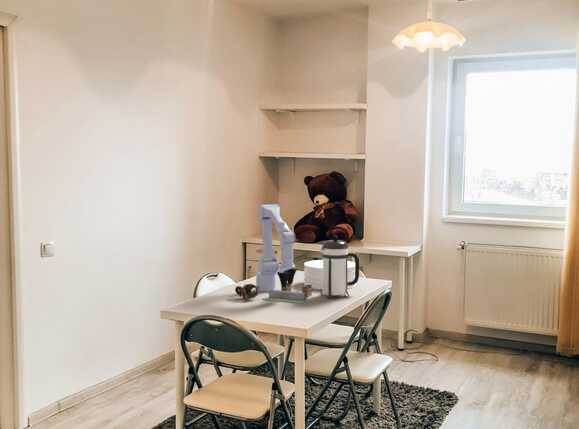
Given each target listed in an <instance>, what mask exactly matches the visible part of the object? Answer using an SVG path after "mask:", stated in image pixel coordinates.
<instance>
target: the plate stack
mask: <svg viewBox="0 0 579 429" xmlns="http://www.w3.org/2000/svg"><path fill="white" fill-rule="evenodd" d="M303 264H304V265H303V266H304V268H303V271H304V273H303V276H304V278H303V279H304V280H303V281H304V282H303V285H304V286H305V287H306V285H312V289H313V288H314V290H320V289H322V290H323V259H317V260H316V259H315V260H309V261H305V262H304V263H303ZM354 279H355V262H354V261H349V260H347V282H352V281H353V280H354ZM357 283H358V282H357ZM357 283H356V284H354V285H350V286H348V287H347V290H350V289H353V288H356V287H357V285H358V284H357ZM322 290H321V291H322Z"/></svg>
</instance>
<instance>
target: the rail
mask: <svg viewBox="0 0 579 429" xmlns="http://www.w3.org/2000/svg"><path fill="white" fill-rule="evenodd" d="M268 295H269V298H277V299H288V300H298V301H305V300H306V298H307V297H306V293H302V291H300V292H299V291H291V292H290V291H281V290H279V289H278V290H270V291H269V292H268ZM305 302H306V301H305Z"/></svg>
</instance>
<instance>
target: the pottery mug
mask: <svg viewBox="0 0 579 429" xmlns="http://www.w3.org/2000/svg"><path fill="white" fill-rule="evenodd" d="M253 289H255V290H254V291H253V292H252V290H253ZM234 290H235V293H236V295H238V296H239V298H241V297H242V298H243V300H244V301H245V302H247V301H249V300H251V299H255V298H257V296H258V295H260V291H258V288H257V286H256V284H254V283H246V284H244V285H243V286H241V285H237V286H235V289H234Z"/></svg>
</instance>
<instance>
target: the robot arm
mask: <svg viewBox="0 0 579 429" xmlns="http://www.w3.org/2000/svg"><path fill="white" fill-rule="evenodd" d="M257 215H258V217H257V218H258V221H259V222H261V223H260V224H261V235H262V236H261V237H262V252H263V253H262V255H260V256H259V257H258V260H257V262H258V263H257V270H258V272H257V274H256V278H255V281H256V282H255V286H257V288H258V292H264V293H265V292H267V293H269V291H270V290H279V288H278V287H277V286H276V282H277V280H276V274H277V276H278V278H279V281H280V287H281V286H282V287H286V285H287V283H288V284H291V285H292V284H293V282H294V279H295V274H296V273H297V271H298V270H297V268H296V266H295V263H294V244H295V242H296V238H297V237H296V234H295V232H294V231H293V230H291V229H290V228H289V226H288V224H287V223H286V222H285V221H283V219H282V217H281V207H280V206H279V204H277V203H275V204H260V205H259V206H258V208H257ZM272 222H273V223H274V224H275V226H274V229H275V231H276V233H277V235H278V240H279V246H280V262H279V259H278V256H276V255H275V254H274V251H273V250H274V247H273V234H272V233H273V232H272V230H273V229H272ZM279 263H280V264H279Z"/></svg>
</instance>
